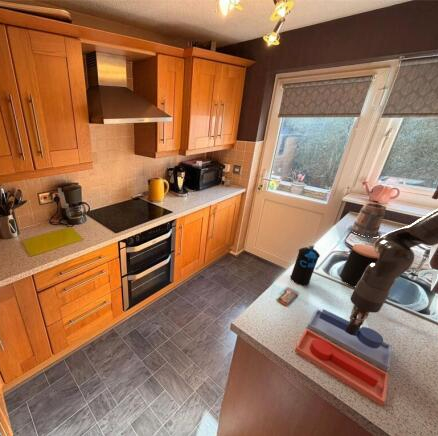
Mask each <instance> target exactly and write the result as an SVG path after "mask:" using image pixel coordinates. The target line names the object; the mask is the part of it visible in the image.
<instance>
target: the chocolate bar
mask: <svg viewBox="0 0 438 436" xmlns="http://www.w3.org/2000/svg"><path fill="white" fill-rule="evenodd" d="M298 296H299V294H298V293H297V292H294V291H292V290H291V289H289V288H287V289H286V290H285V291H284V292H283V293H282V294H281V295H280V296H279V297H278V298H276V299H275V300H276V301H277V302H279V303H282V304H283V305H285V306H287V307H289V305H290V304H291V303H292V302H293V301H294V300H295V299H296V298H297V297H298Z"/></svg>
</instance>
